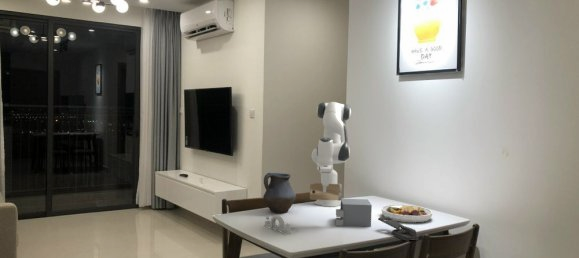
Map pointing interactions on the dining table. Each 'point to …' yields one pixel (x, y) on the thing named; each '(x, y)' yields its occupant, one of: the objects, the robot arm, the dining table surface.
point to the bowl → (407, 213)
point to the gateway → (281, 222)
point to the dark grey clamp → (401, 233)
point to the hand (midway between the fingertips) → (324, 191)
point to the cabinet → (354, 212)
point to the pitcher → (278, 192)
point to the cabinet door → (331, 192)
